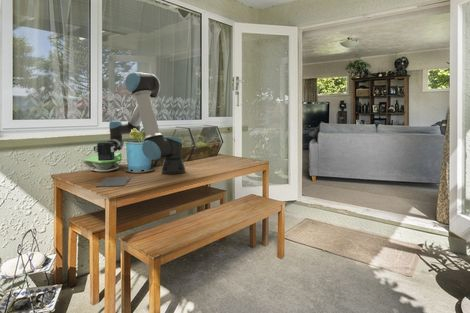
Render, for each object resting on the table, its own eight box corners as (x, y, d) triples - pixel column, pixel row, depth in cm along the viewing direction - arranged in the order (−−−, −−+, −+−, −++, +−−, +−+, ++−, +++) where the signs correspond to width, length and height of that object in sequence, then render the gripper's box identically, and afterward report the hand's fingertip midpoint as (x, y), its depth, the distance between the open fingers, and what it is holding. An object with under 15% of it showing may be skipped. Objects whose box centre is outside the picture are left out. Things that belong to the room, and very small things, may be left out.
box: (114, 159, 189) (113, 141, 187) (112, 160, 183) (110, 142, 182) (101, 159, 188) (100, 141, 186) (98, 161, 182) (96, 142, 181)
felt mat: (131, 178, 186) (130, 177, 186) (124, 186, 167) (124, 185, 167) (106, 178, 184) (106, 177, 184) (96, 187, 165) (96, 186, 165)
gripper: (130, 151, 204) (122, 156, 182) (96, 151, 201) (85, 157, 179) (129, 139, 203) (122, 143, 181) (95, 140, 200) (83, 144, 178)
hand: (103, 150), depth 180 cm, fingers closed on box, 8 cm apart
